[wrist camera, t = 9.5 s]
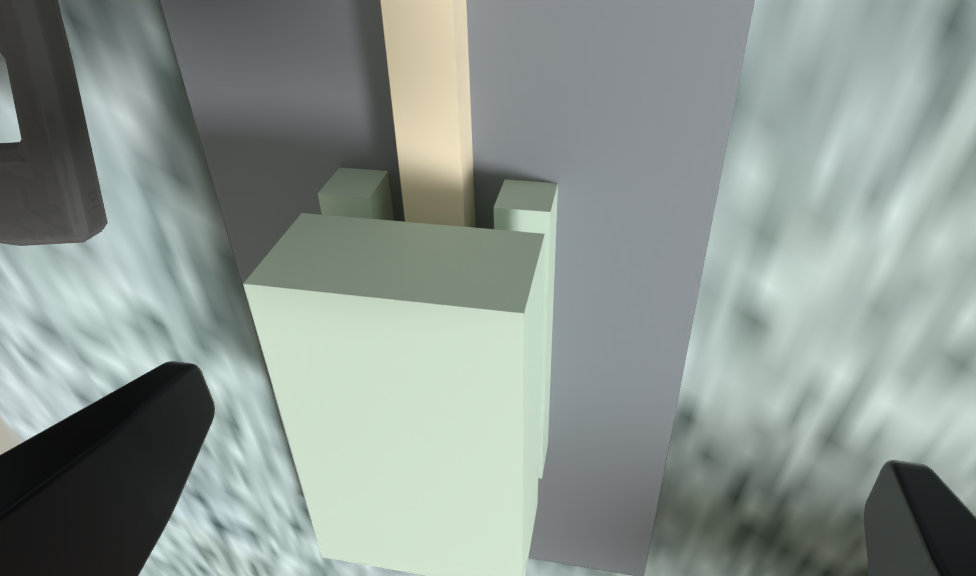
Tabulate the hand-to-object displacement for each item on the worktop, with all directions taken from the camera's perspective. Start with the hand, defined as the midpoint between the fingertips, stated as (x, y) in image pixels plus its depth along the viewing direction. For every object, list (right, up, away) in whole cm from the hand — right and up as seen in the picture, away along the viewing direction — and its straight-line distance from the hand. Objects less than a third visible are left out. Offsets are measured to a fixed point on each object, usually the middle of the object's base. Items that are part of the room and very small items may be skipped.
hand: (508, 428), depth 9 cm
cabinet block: (-1, +1, +12) cm, 12 cm away
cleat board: (-1, +1, +13) cm, 13 cm away
